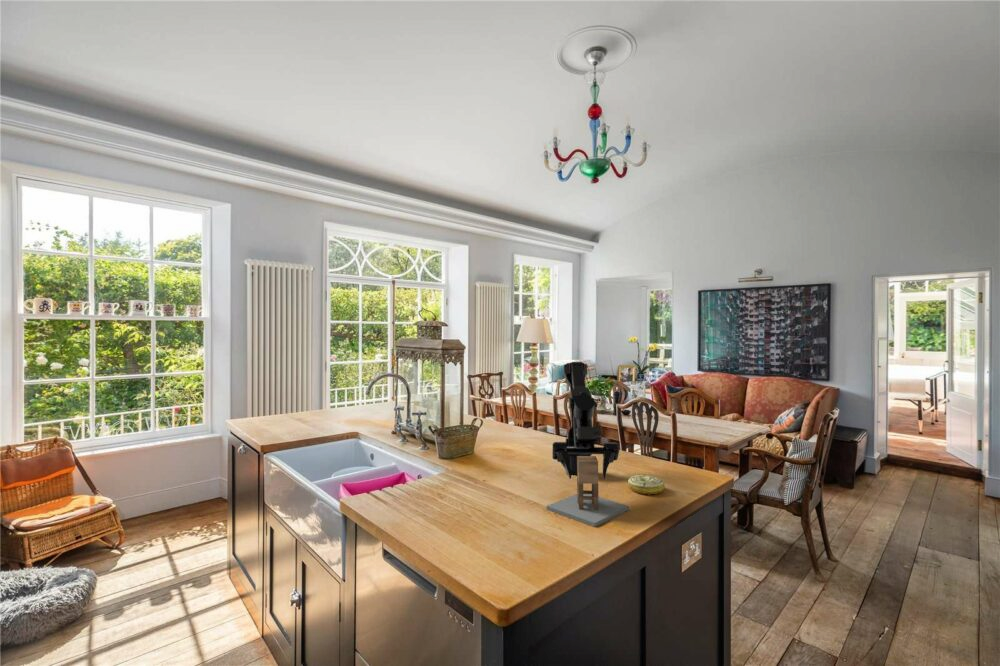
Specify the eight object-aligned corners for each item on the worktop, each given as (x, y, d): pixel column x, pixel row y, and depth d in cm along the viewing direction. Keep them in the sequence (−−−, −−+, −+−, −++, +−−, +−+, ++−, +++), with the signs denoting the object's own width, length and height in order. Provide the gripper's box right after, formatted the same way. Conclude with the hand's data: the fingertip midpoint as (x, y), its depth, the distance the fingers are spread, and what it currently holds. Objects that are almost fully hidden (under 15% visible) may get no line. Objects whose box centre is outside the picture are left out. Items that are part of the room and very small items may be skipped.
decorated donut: (648, 483, 149) (648, 471, 149) (672, 493, 139) (671, 481, 139) (621, 487, 146) (621, 475, 146) (643, 498, 136) (643, 485, 136)
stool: (577, 502, 130) (577, 456, 130) (596, 502, 129) (595, 456, 129) (579, 509, 125) (578, 461, 125) (598, 509, 124) (598, 461, 124)
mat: (546, 509, 127) (546, 505, 127) (582, 494, 138) (581, 491, 138) (594, 527, 116) (594, 523, 116) (629, 509, 127) (629, 506, 127)
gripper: (552, 414, 134) (553, 463, 123) (618, 414, 132) (625, 464, 121) (551, 435, 142) (553, 483, 131) (613, 435, 140) (620, 484, 129)
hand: (587, 478), depth 128 cm, fingers open, 9 cm apart
